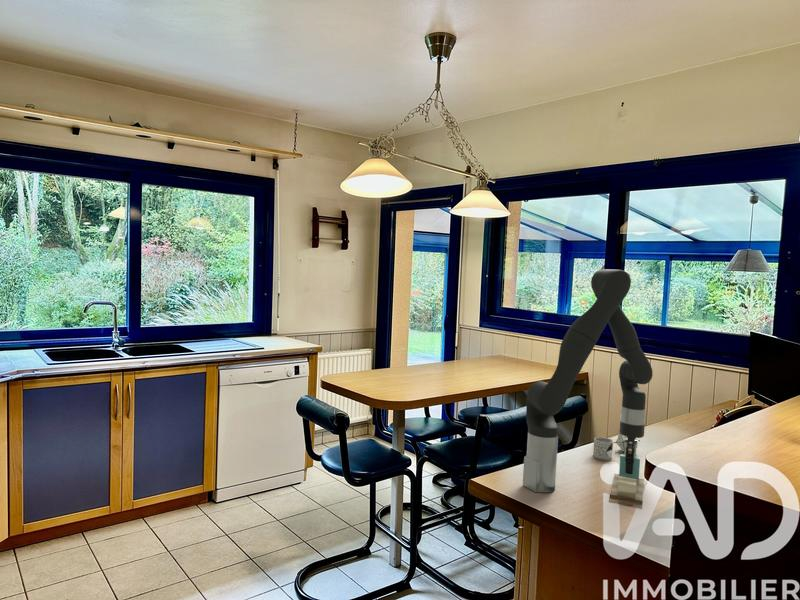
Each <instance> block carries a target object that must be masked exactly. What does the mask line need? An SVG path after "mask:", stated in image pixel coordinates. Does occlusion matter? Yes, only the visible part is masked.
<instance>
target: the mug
mask: <svg viewBox="0 0 800 600" xmlns="http://www.w3.org/2000/svg"><path fill="white" fill-rule="evenodd" d="M613 444H614V440H613V439H611V438H608V437H601V436H596V437H594V439H593V452H592V453H593V455H592V456H593V458H595V459H598V460H603V461H610V460H612V459H613V448H614V447H613V446H614V445H613Z"/></svg>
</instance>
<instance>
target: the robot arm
mask: <svg viewBox="0 0 800 600" xmlns="http://www.w3.org/2000/svg"><path fill="white" fill-rule="evenodd" d="M590 285H591V290H592V292H593V295H594V296H595V298H596V300H595V301H594V303H593V304H592V305H591V307H590V308H589V309H587V310H586V311H585V312H584V313H582V314H581V315H580V316H579V317H577V319H575V321H573V323H572V324H571V325H570V326H569V328H568V330H567V331H566V333H565V334H564V337H563V338H562V341H561V343H560V347H559V352H558V361H557V365H556V368H555V370H554V373H553V374H552V376H551V377H550V379H549V381H548V382H546V381H540V380H539V381H536V382H533V383H532V384H531V386H529V388H528V391H527V393H526V405H525V409H526V412H525V413H526V414H525V417H526V424H527V442H526V455H525V456H524V458H523V470H522V471H523V474H522V486H523V487H525V488H527V489H529V490H530V491H532V492H534V493H552V492H554V491H555V490H556V478H557V460H558V443H559V426H558V424H557V422H556V421H555V418H554V416H556V414H558V413H560V412H561V410H562V409H563V408H564V406H565V404H566V402H567V400H568V398H569V396H570V394H571V391H572V389H573V385H574V384H575V382H576V380H577V378H578V376H579V374H580V372H581V370H582V369H583V366H585V364H586V361H587V360H588V358H589V357H590V355H591V353H592V351H593V349H594V348H595V346H596V344H597V342H598V340H599V339H600V337H601V334H602V333H603V331H604V330H605V328H606V326H607V325H608V326H609V328H610V331H611V334H612V337H613V340H614V344H615V346H616V347H615V348H616V349H617V353H618V355H619V356H620V357H621V358H622V359H624V361H623V362H622V363H621V364H620V366H619V369H618V378H619V382H620V387H621V392H622V393H621V394H622V397H621V398H622V401H621V402H622V403H621V410H620V418H619V419H620V420H619V430H618V432H619V435H620V434H622V435H624V436H627V439H625V441H624V446H625V453H623V455H626V459H625V462H626V469H625V473H627V474H632V473H633V463H634V457H637V448H638V442H639V441H636V439H637V438H638V439H641V438H644V436H645V425H646V402H647V401H646V400H647V399H646V398H647V397H646V396H647V395H646V393H645V391H643V390H642V389H640V387H639V386H638V385H646V384H649V383H650V382H651V380H652V378H653V375H654V374H653V368H652V365H651V363H650V361H649V359H648V358H647V356H646V354H645V353H644V350H643V349H642V347H641V345H640V341H639V338H638V334H637V331H636V329H635V327H634V325H633V324H632V322H631V321H630V319H629V318H628V316H627V315H626V314H625V312H624V311H623V309H622V307H621V304H622V302H623V301H624V299H625V298H626V296H627V295H628V293H629V291H630V289H631V286H632V279H631V276H630V274H629V273H628V271H625V270H622V269H609V268H607V269H606V268H605V269H599V270H597V271H595V272H594V273H593V274H592V276H591V280H590ZM635 438H636V439H635ZM627 457H629V458H632V459H629V458H627Z"/></svg>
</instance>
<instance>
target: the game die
mask: <svg viewBox="0 0 800 600" xmlns="http://www.w3.org/2000/svg"><path fill="white" fill-rule="evenodd" d="M625 439H627V436H624V435H622V434H620V433H619V435H618V436H617V439H616V440H615V441H613V444H616V445H617V446H618V447H619V448H620V450H622V451H623V454H624V453H625V446H624V441H625ZM635 439H636V441H638V442H641V440H639V439H637V438H635Z"/></svg>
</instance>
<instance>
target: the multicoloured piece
mask: <svg viewBox="0 0 800 600" xmlns="http://www.w3.org/2000/svg"><path fill="white" fill-rule="evenodd" d="M627 458H629V457H627ZM625 459H626V455H625V454H624V453H623V454H621V453H620V455H619V473H614V474H613V479H612V484H611V487H610V488H611V489H610V492H609V499H608V503H612V504H617V505H621V506H626V507H631V508H636V509H639V510H643V504H644V503H643V502H644V485H645V484H644V481H645V480H644V478H641V477H640V465H641V457H638V456H635V457H634V463H633V473H632V474H627V473H625V469H626V462H625ZM629 459H632V458H629ZM619 476H621V477H626V478H632V479H637V482H636V497H635V499H633V498H629V497H624V496H619V495H617V488H618V478H619Z"/></svg>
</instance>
